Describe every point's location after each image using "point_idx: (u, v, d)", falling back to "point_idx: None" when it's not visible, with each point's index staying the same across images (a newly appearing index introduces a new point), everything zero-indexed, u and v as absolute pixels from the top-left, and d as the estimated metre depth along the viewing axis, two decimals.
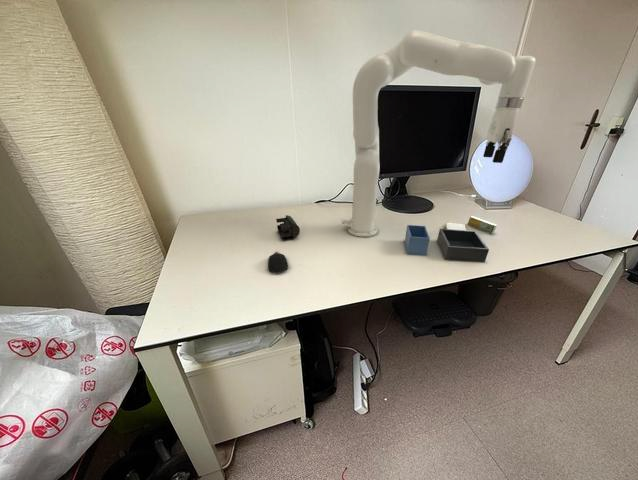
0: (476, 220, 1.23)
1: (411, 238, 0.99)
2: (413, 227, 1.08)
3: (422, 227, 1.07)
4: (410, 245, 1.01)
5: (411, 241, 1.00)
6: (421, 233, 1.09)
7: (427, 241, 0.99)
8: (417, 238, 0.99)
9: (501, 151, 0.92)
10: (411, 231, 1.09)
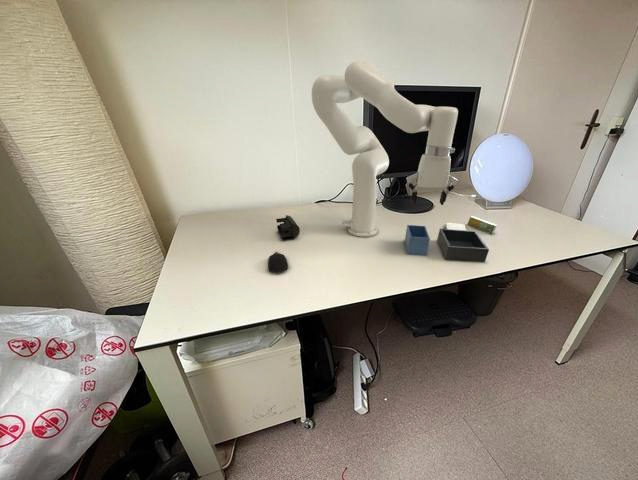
0: (476, 220, 1.23)
1: (411, 238, 0.99)
2: (413, 227, 1.08)
3: (422, 227, 1.07)
4: (410, 245, 1.01)
5: (411, 241, 1.00)
6: (421, 233, 1.09)
7: (427, 241, 0.99)
8: (417, 238, 0.99)
9: (412, 191, 0.96)
10: (411, 231, 1.09)
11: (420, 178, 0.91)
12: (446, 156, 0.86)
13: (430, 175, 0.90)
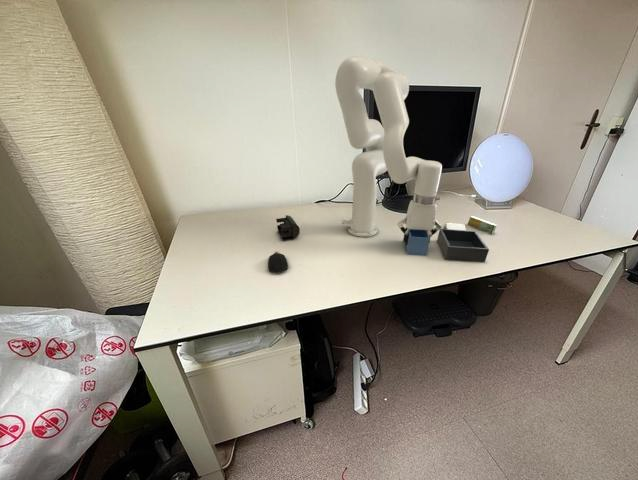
0: (476, 220, 1.23)
1: (411, 238, 0.99)
2: None
3: None
4: (410, 245, 1.01)
5: (411, 241, 1.00)
6: (421, 233, 1.09)
7: (427, 241, 0.99)
8: (417, 238, 0.99)
9: (404, 234, 1.04)
10: (411, 231, 1.09)
11: (408, 222, 0.99)
12: (432, 204, 0.94)
13: (418, 219, 0.98)
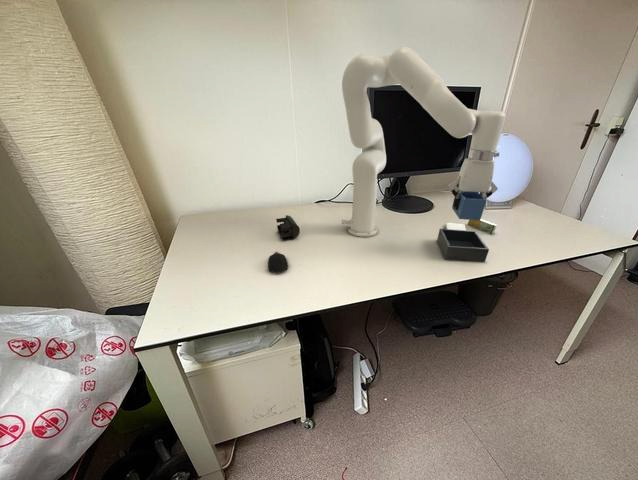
0: (476, 220, 1.23)
1: (465, 200, 0.90)
2: None
3: None
4: (463, 208, 0.91)
5: (465, 204, 0.91)
6: (471, 198, 1.00)
7: (483, 203, 0.90)
8: (472, 200, 0.90)
9: (455, 198, 0.95)
10: None
11: (462, 182, 0.90)
12: (491, 160, 0.85)
13: (473, 179, 0.89)
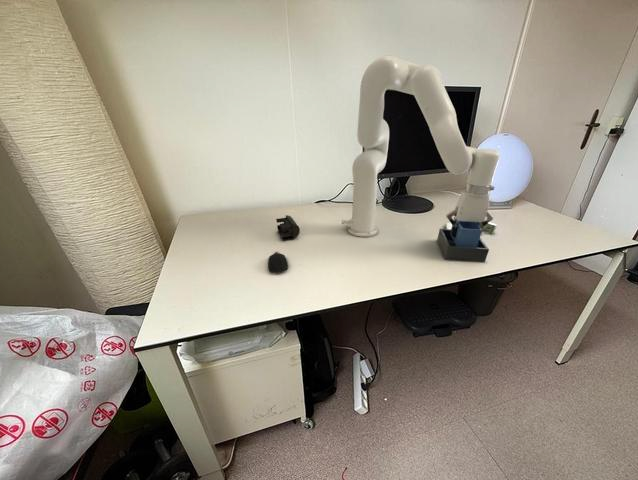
0: None
1: (463, 230, 0.96)
2: None
3: None
4: (461, 237, 0.97)
5: (462, 233, 0.96)
6: (468, 225, 1.05)
7: (479, 233, 0.96)
8: (469, 230, 0.95)
9: (452, 226, 1.01)
10: None
11: (459, 213, 0.96)
12: (486, 194, 0.91)
13: (470, 210, 0.95)
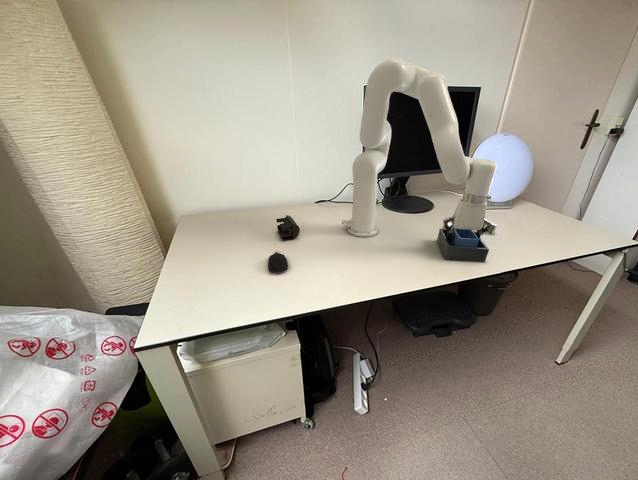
0: None
1: (460, 239, 0.98)
2: None
3: None
4: None
5: (459, 242, 0.98)
6: (465, 234, 1.07)
7: (476, 242, 0.98)
8: (466, 239, 0.97)
9: (448, 232, 1.02)
10: None
11: (457, 221, 0.98)
12: (483, 203, 0.93)
13: (467, 219, 0.97)
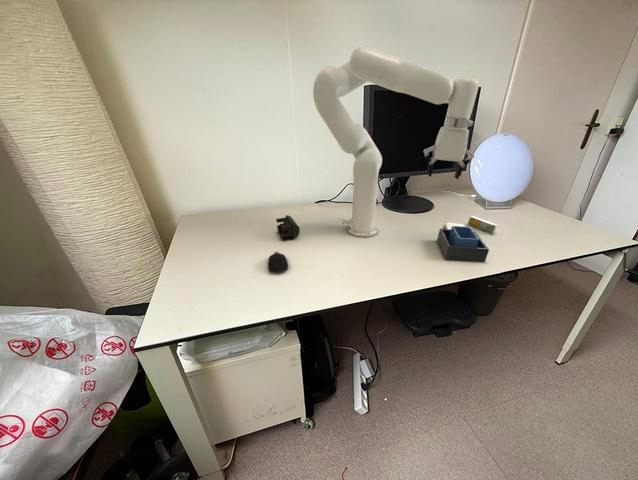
0: (476, 220, 1.23)
1: (460, 239, 0.98)
2: (458, 228, 1.06)
3: (467, 228, 1.06)
4: None
5: (459, 242, 0.98)
6: (465, 234, 1.07)
7: (476, 242, 0.98)
8: (466, 239, 0.97)
9: None
10: None
11: (437, 150, 0.93)
12: (464, 128, 0.88)
13: (448, 147, 0.92)
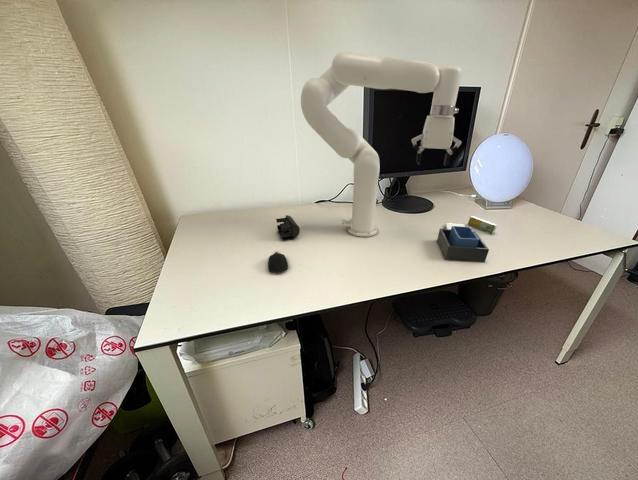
0: (476, 220, 1.23)
1: (460, 239, 0.98)
2: (458, 228, 1.06)
3: (467, 228, 1.06)
4: None
5: (459, 242, 0.98)
6: (465, 234, 1.07)
7: (476, 242, 0.98)
8: (466, 239, 0.97)
9: (417, 153, 1.00)
10: None
11: (425, 138, 0.95)
12: (450, 115, 0.90)
13: (435, 135, 0.94)
